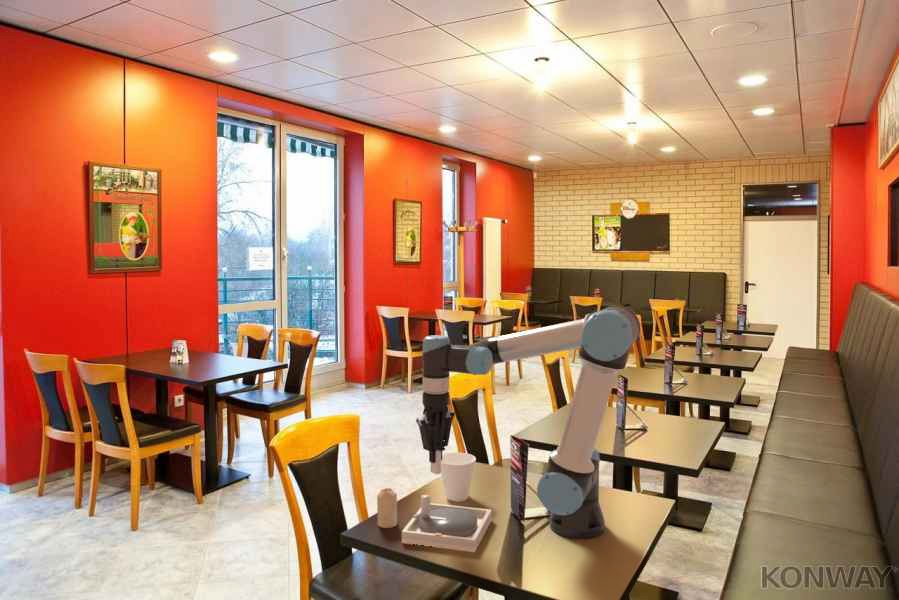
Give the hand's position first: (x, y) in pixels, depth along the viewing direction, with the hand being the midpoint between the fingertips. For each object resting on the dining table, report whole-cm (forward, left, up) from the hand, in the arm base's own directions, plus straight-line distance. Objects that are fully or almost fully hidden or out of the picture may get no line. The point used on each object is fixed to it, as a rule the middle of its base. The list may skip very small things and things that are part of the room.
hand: (435, 472), depth 189 cm
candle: (+13, +5, -15) cm, 20 cm away
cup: (-1, -19, -15) cm, 24 cm away
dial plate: (-5, +5, -15) cm, 16 cm away
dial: (-5, +5, -13) cm, 15 cm away
